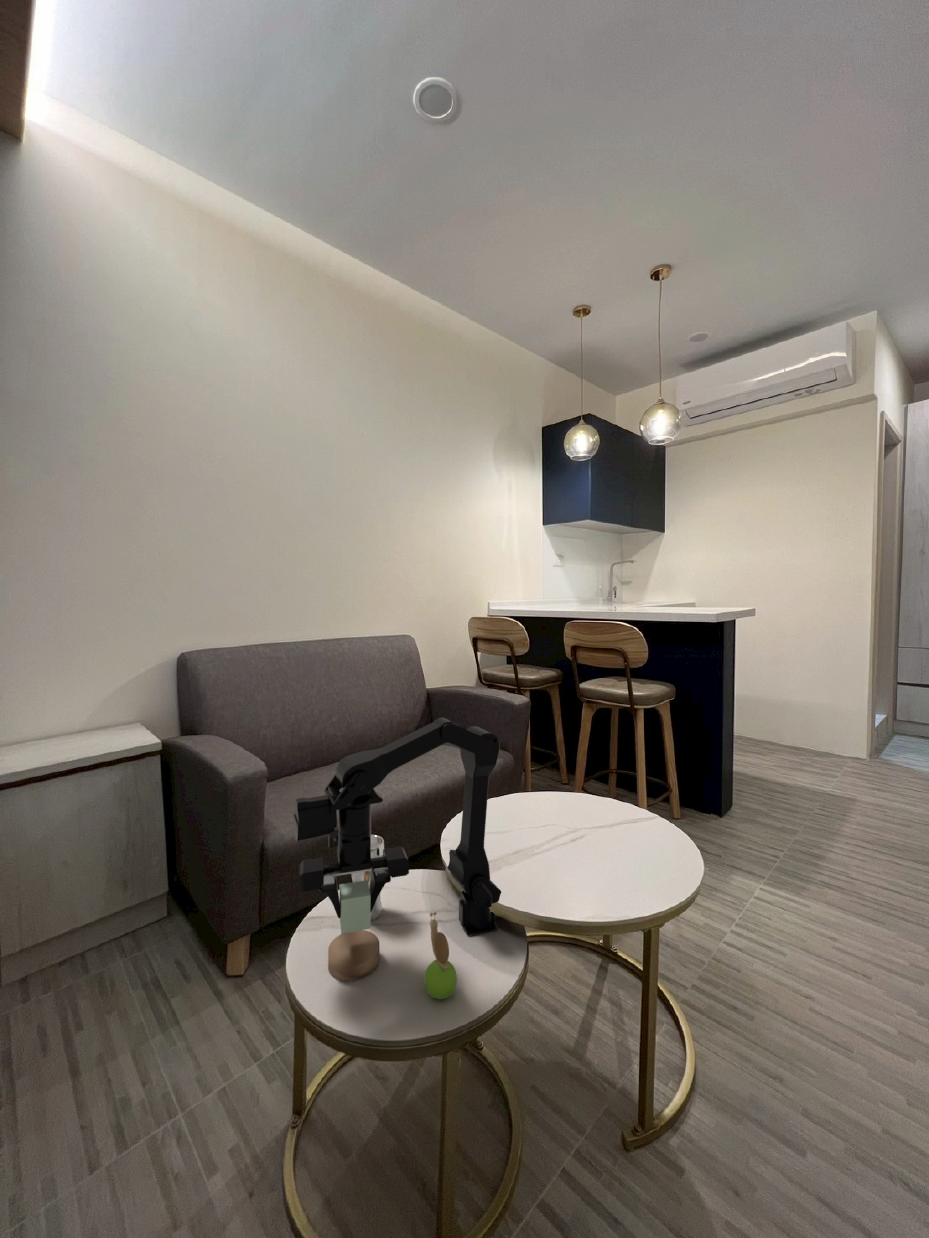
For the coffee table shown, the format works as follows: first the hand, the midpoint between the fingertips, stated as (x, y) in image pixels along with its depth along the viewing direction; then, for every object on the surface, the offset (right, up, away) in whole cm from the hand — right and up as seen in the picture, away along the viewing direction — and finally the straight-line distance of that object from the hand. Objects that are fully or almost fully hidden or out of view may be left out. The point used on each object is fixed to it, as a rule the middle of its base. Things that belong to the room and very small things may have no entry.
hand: (354, 913), depth 90 cm
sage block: (0, -2, 0) cm, 2 cm away
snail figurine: (+16, -10, -6) cm, 19 cm away
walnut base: (0, -9, 0) cm, 9 cm away
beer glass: (-1, -9, +15) cm, 17 cm away
